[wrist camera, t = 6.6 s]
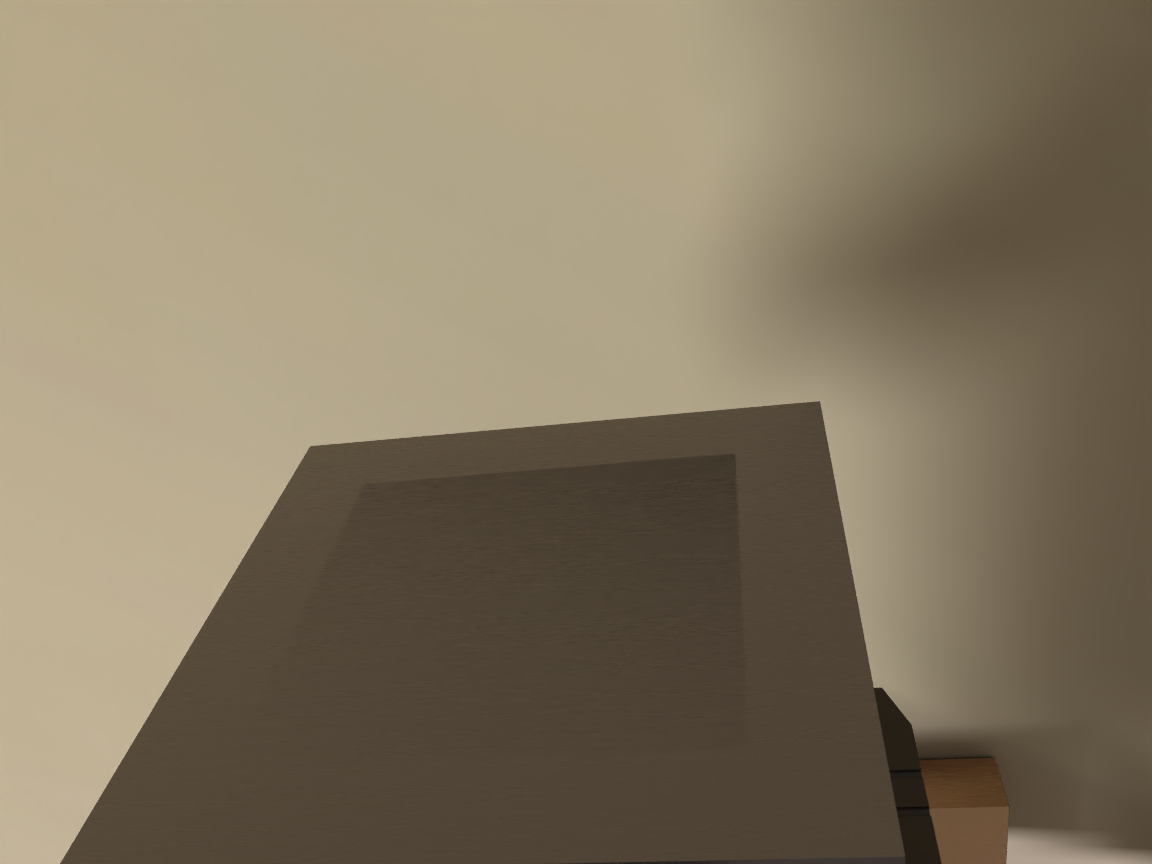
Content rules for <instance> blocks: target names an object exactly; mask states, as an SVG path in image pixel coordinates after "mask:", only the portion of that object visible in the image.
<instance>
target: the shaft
mask: <svg viewBox="0 0 1152 864" xmlns="http://www.w3.org/2000/svg"><path fill="white" fill-rule="evenodd" d="M60 864H905V853H904V847H903V842H902V837H901V831H900V826H899V821H898V815H897V810H896V805H895V799H894V794H893V789H892V783H891V778H890V773H889V767H888V762H887V757H886V751H885V746H884V741H883V735H882V730H881V725H880V719H879V714H878V709H877V703H876V698H875V693H874V687H873V682H872V677H871V671H870V666H869V661H868V655H867V650H866V645H865V639H864V634H863V629H862V623H861V618H860V613H859V607H858V602H857V597H856V591H855V586H854V581H853V575H852V570H851V565H850V559H849V554H848V549H847V543H846V538H845V533H844V527H843V522H842V517H841V511H840V506H839V501H838V495H837V490H836V485H835V479H834V474H833V469H832V463H831V458H830V453H829V447H828V442H827V437H826V431H825V426H824V421H823V415H822V410H821V405H820V401H818V402H807V403H796V404H784V405H773V406H762V407H750V408H739V409H728V410H716V411H705V412H694V413H682V414H671V415H660V416H648V417H637V418H626V419H615V420H603V421H592V422H581V423H569V424H558V425H547V426H535V427H524V428H513V429H501V430H490V431H479V432H467V433H456V434H445V435H433V436H422V437H411V438H400V439H388V440H377V441H366V442H354V443H343V444H332V445H320V446H310V448H309V449H308V451H307V453H306V454H305V456H304V458H303V459H302V461H301V463H300V464H299V466H298V468H297V469H296V471H295V473H294V475H293V476H292V478H291V480H290V481H289V483H288V485H287V486H286V488H285V490H284V491H283V493H282V495H281V496H280V498H279V500H278V501H277V503H276V505H275V506H274V508H273V510H272V511H271V513H270V515H269V516H268V518H267V520H266V521H265V523H264V525H263V526H262V528H261V530H260V531H259V533H258V535H257V536H256V538H255V540H254V541H253V543H252V545H251V546H250V548H249V550H248V551H247V553H246V555H245V556H244V558H243V560H242V561H241V563H240V565H239V566H238V568H237V570H236V571H235V573H234V575H233V576H232V578H231V580H230V581H229V583H228V585H227V586H226V588H225V590H224V591H223V593H222V595H221V596H220V598H219V600H218V601H217V603H216V605H215V606H214V608H213V610H212V611H211V613H210V615H209V616H208V618H207V620H206V621H205V623H204V625H203V626H202V628H201V630H200V631H199V633H198V635H197V636H196V638H195V640H194V641H193V643H192V645H191V646H190V648H189V650H188V651H187V653H186V655H185V656H184V658H183V660H182V661H181V663H180V665H179V666H178V668H177V670H176V671H175V673H174V675H173V676H172V678H171V680H170V681H169V683H168V685H167V686H166V688H165V690H164V691H163V693H162V695H161V696H160V698H159V700H158V701H157V703H156V705H155V706H154V708H153V710H152V712H151V713H150V715H149V717H148V718H147V720H146V722H145V723H144V725H143V727H142V728H141V730H140V732H139V733H138V735H137V737H136V738H135V740H134V742H133V743H132V745H131V747H130V748H129V750H128V752H127V753H126V755H125V757H124V758H123V760H122V762H121V763H120V765H119V767H118V768H117V770H116V772H115V773H114V775H113V777H112V778H111V780H110V782H109V783H108V785H107V787H106V788H105V790H104V792H103V793H102V795H101V797H100V798H99V800H98V802H97V803H96V805H95V807H94V808H93V810H92V812H91V813H90V815H89V817H88V818H87V820H86V822H85V823H84V825H83V827H82V828H81V830H80V832H79V833H78V835H77V837H76V838H75V840H74V842H73V843H72V845H71V847H70V848H69V850H68V852H67V853H66V855H65V857H64V858H63V860H62V862H61V863H60Z"/></svg>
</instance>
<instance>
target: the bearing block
mask: <svg viewBox="0 0 1152 864" xmlns="http://www.w3.org/2000/svg"><path fill="white" fill-rule="evenodd" d="M919 762H920V766H921V774H922V778H923V780H924V785H925V789H926V794H927V798H928V803H929V810H930V816H931V817H932V821H933V826H934V830H935V835H936V840H937V844H938V849H939V853H940V858H941V863H942V864H1006V856H1007V838H1008V819H1009V804H1008V801H1007V798H1006V794H1005V791H1004V788H1003V784H1002V781H1001V778H1000V774H999V771H998V767H997V764H996V761H995V758H965V759H936V760H919Z"/></svg>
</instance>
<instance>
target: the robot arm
mask: <svg viewBox="0 0 1152 864" xmlns="http://www.w3.org/2000/svg"><path fill="white" fill-rule="evenodd" d="M874 693H875V698H876V703H877V709H878V714H879V719H880V725H881V730H882V735H883V741H884V746H885V751H886V757H887V762H888V767H889V773H890V778H891V783H892V789H893V794H894V799H895V805H896V810H897V815H898V821H899V826H900V831H901V837H902V842H903V847H904V853H905V864H942V863H941V858H940V853H939V849H938V844H937V840H936V835H935V830H934V826H933V821H932V817H931V816H930V810H929V803H928V798H927V794H926V789H925V785H924V780H923V778H922V774H921V766H920V762H919V757H918V752H917V748H916V743H915V739H914V734H913V730H912V725H911V724H910V722H909V721H908V720H907V719H906V717H905V716H904V715H903V714H902V712H901V711H900V710H899V709H898V707H897V706H896V705H895V704H894V702H893V701H892V700H891V699H890V697H889V696H888V695H887V694H886V692H885V691H884V690H883V689H882V688H874Z"/></svg>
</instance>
